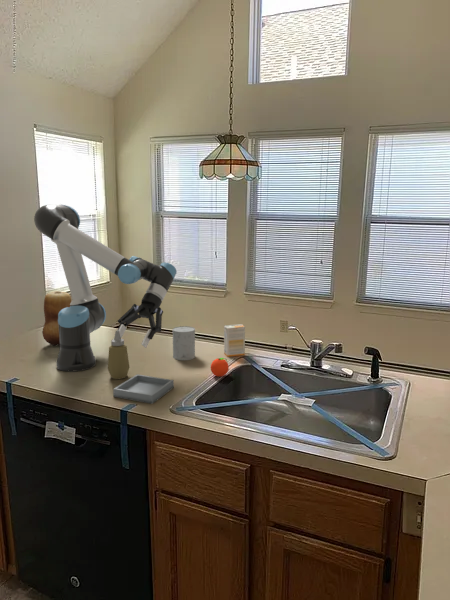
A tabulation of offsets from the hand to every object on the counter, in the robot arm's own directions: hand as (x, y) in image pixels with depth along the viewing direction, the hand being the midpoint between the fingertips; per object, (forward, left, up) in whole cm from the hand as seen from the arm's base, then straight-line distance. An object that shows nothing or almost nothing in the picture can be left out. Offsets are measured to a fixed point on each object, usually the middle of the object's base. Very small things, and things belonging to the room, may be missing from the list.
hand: (129, 343), depth 174 cm
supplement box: (+28, +38, -13) cm, 49 cm away
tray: (+14, -13, -12) cm, 23 cm away
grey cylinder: (+9, +27, -13) cm, 31 cm away
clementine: (+32, +12, -13) cm, 37 cm away
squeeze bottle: (-3, -4, -13) cm, 14 cm away
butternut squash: (-52, +20, -13) cm, 57 cm away
